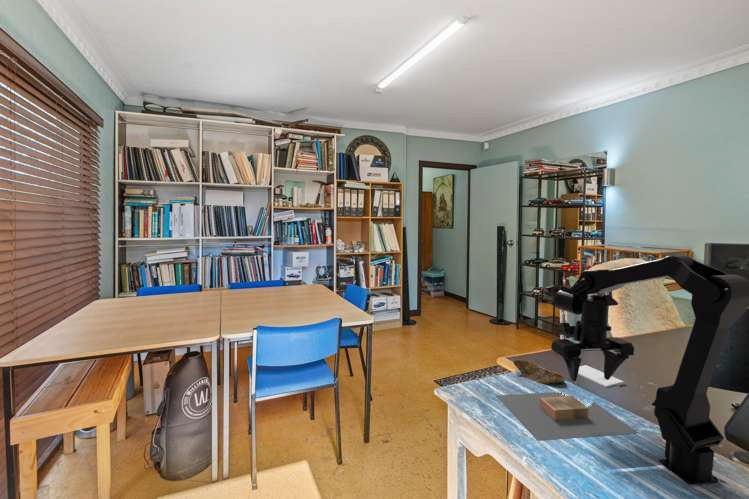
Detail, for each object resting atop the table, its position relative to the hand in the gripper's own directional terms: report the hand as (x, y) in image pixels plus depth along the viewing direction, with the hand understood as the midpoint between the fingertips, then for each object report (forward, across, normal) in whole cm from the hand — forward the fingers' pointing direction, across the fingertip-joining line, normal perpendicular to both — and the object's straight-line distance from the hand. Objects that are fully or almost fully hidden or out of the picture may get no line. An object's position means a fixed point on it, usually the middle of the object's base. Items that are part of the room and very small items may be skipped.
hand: (590, 379), depth 90 cm
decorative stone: (+9, +1, -20) cm, 22 cm away
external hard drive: (+9, -17, -18) cm, 27 cm away
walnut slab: (+7, +2, 0) cm, 7 cm away
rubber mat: (+9, +8, 0) cm, 11 cm away
